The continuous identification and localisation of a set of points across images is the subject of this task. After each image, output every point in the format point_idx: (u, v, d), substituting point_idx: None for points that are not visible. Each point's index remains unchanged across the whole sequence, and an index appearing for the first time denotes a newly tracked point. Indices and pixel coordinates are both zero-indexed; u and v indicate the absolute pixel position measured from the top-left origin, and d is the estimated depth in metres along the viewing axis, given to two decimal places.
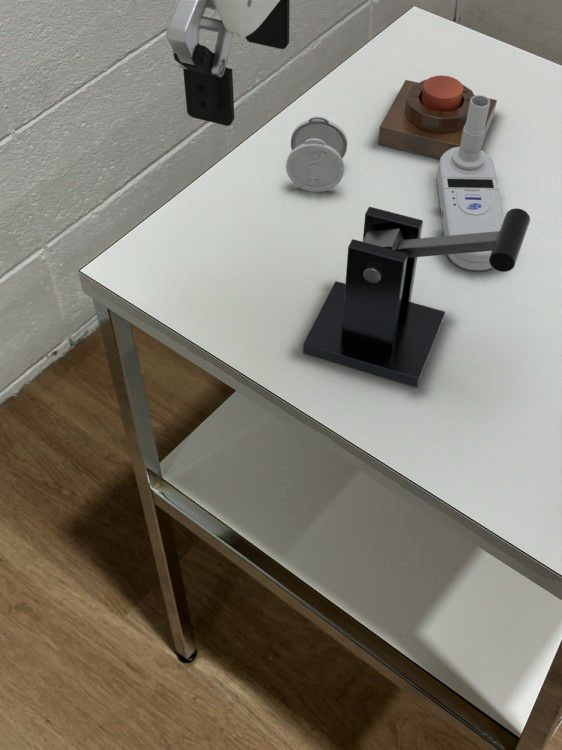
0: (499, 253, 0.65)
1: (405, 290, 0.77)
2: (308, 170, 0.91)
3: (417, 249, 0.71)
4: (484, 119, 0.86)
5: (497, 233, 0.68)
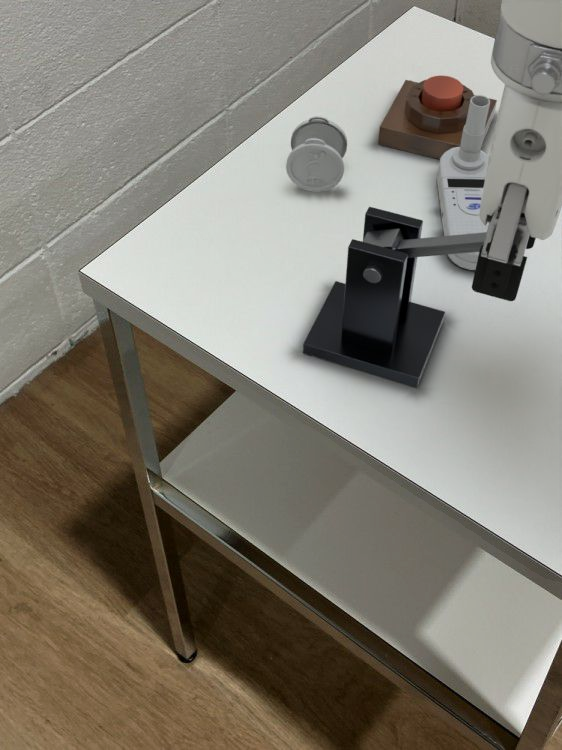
0: None
1: (405, 290, 0.77)
2: (308, 169, 0.91)
3: (417, 249, 0.71)
4: (484, 119, 0.86)
5: None
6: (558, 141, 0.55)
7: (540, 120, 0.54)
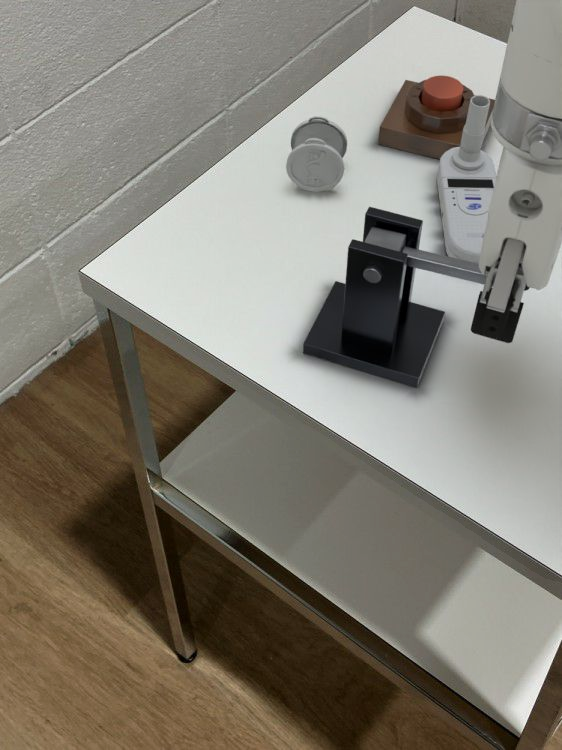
0: None
1: (405, 290, 0.77)
2: (308, 169, 0.91)
3: (420, 262, 0.72)
4: (484, 119, 0.86)
5: None
6: (554, 202, 0.58)
7: (537, 182, 0.58)
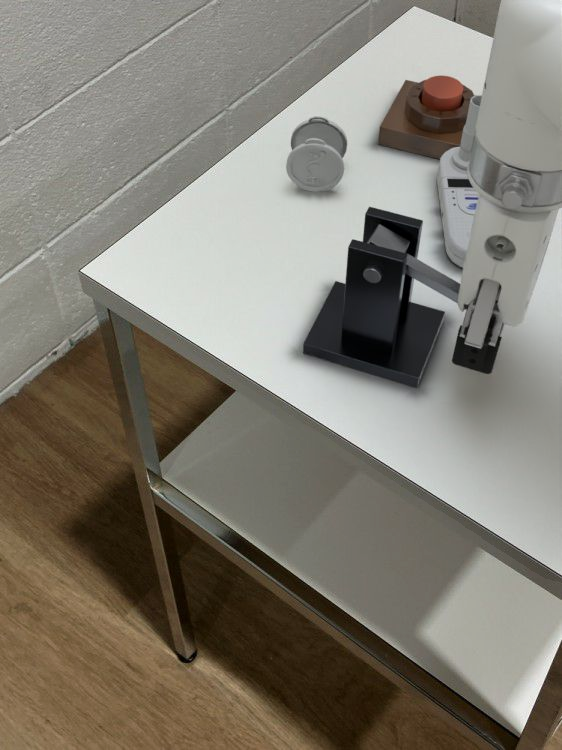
0: None
1: (405, 290, 0.77)
2: (308, 169, 0.91)
3: (417, 273, 0.73)
4: None
5: None
6: (526, 246, 0.61)
7: (510, 228, 0.61)
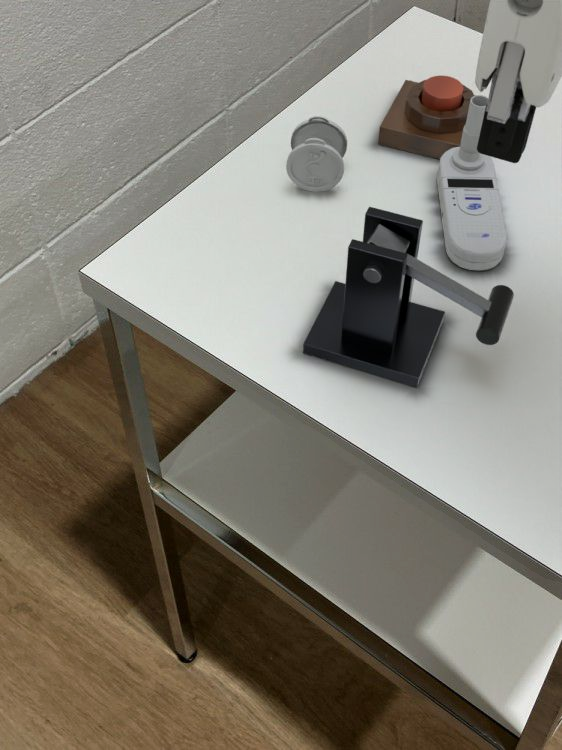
0: (493, 331, 0.71)
1: (405, 290, 0.77)
2: (308, 169, 0.91)
3: (417, 273, 0.73)
4: None
5: (489, 304, 0.73)
6: None
7: None
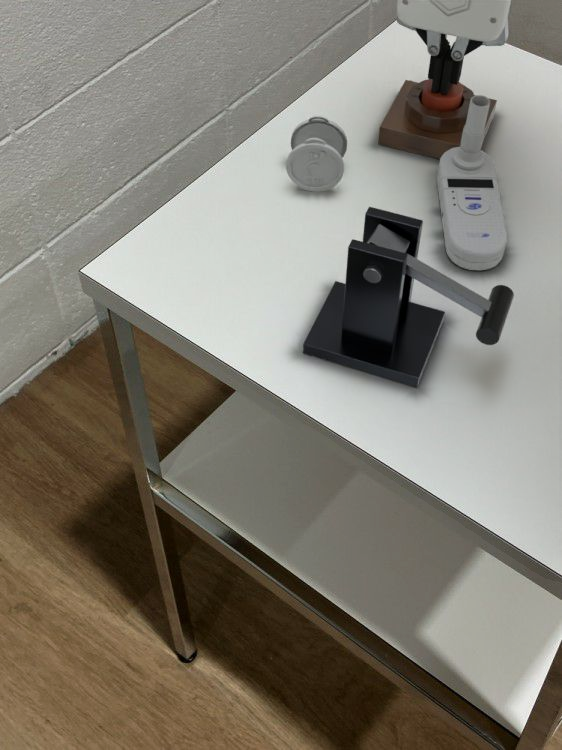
0: (493, 331, 0.71)
1: (405, 290, 0.77)
2: (308, 169, 0.91)
3: (417, 273, 0.73)
4: (484, 119, 0.86)
5: (489, 304, 0.73)
6: None
7: None
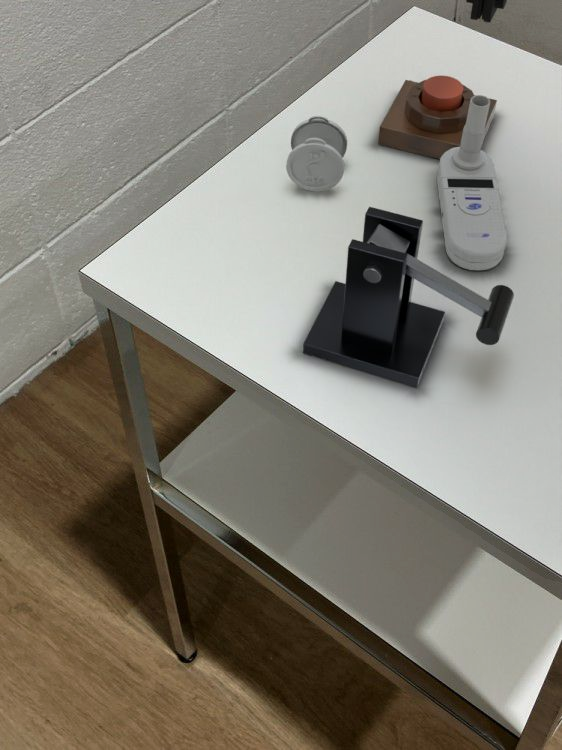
0: (493, 331, 0.71)
1: (405, 290, 0.77)
2: (308, 169, 0.91)
3: (417, 273, 0.73)
4: (484, 119, 0.86)
5: (489, 304, 0.73)
6: None
7: None
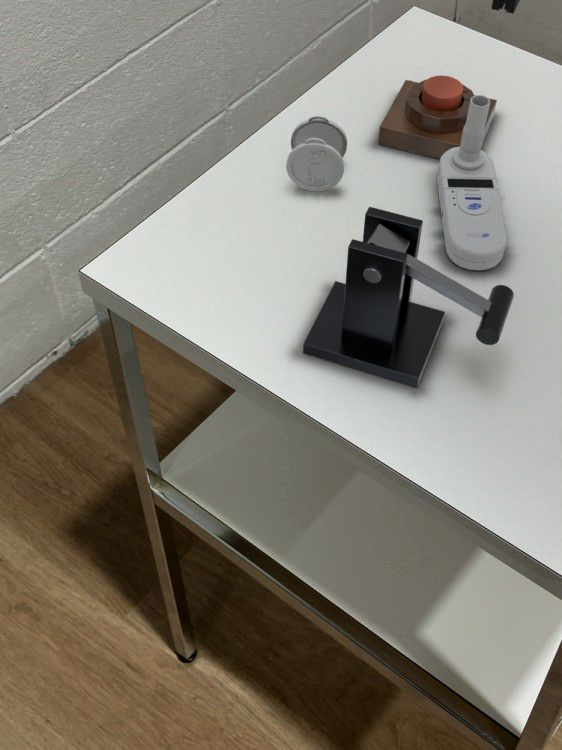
0: (493, 331, 0.71)
1: (405, 290, 0.77)
2: (308, 169, 0.91)
3: (417, 273, 0.73)
4: (484, 119, 0.86)
5: (489, 304, 0.73)
6: None
7: None
